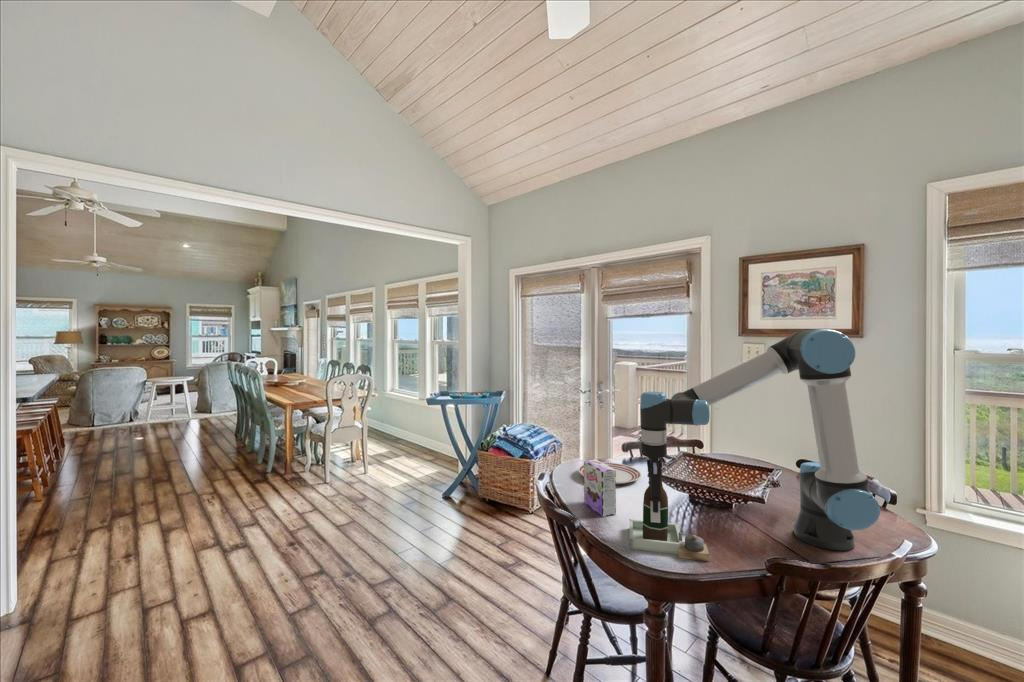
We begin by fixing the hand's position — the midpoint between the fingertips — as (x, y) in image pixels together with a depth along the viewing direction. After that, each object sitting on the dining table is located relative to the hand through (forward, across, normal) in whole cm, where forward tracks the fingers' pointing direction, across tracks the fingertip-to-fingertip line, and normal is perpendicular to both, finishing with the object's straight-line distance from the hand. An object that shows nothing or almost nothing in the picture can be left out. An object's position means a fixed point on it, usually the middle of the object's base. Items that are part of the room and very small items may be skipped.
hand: (654, 515), depth 132 cm
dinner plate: (+8, -57, -16) cm, 60 cm away
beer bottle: (+7, 0, 0) cm, 7 cm away
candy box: (+8, -21, -18) cm, 29 cm away
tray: (+8, 0, 0) cm, 8 cm away
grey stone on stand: (+8, +6, +10) cm, 14 cm away
